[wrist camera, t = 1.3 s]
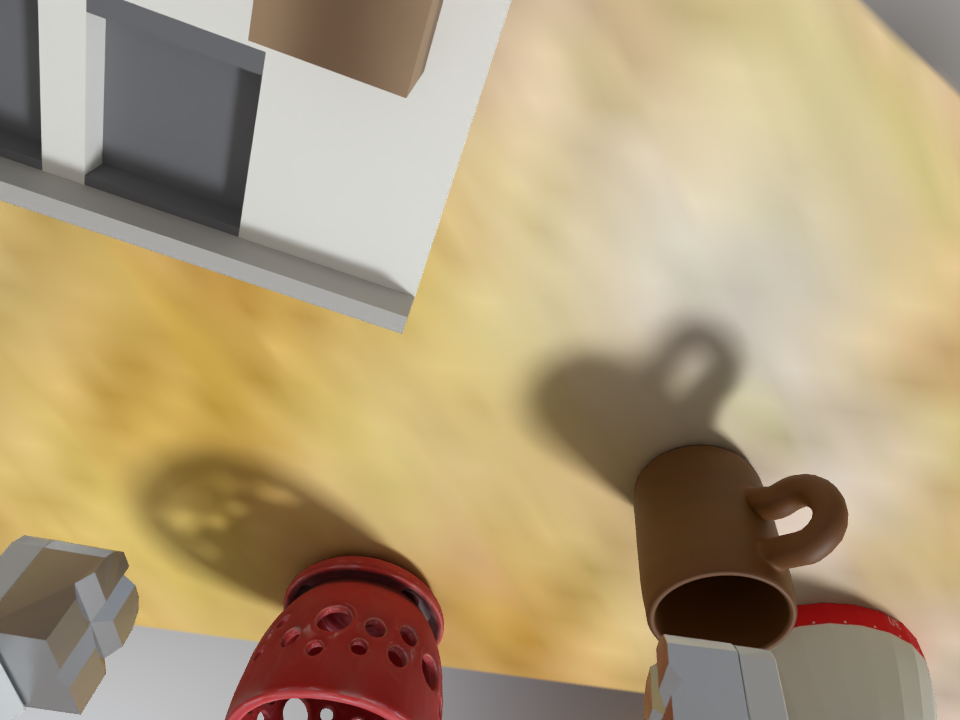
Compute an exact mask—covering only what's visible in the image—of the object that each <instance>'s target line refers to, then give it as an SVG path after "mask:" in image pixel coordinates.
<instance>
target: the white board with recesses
mask: <svg viewBox="0 0 960 720" xmlns="http://www.w3.org/2000/svg"><path fill="white" fill-rule="evenodd" d="M510 4H511V0H443V4H442V8H441V11H440V15H439V19H438V22H437V26H436V30H435V33H434V37H433V40H432V44H431V48H430V51H429V55H428V59H427V62H426V66H425V70H424V72H423V74H422V75H421V77H420V78H419V80H418V81H417V83H416V84H415V86H414V87H413V89H412V90H411V92H410V93H409V95H408V96H407V98H404V97H401V96H398V95H396V94H393V93H390V92H387V91H385V90H382V89H379V88H376V87H374V86H371V85H368V84H366V83H363V82H360V81H357V80H355V79H352V78H349V77H346V76H344V75H341V74H338V73H336V72H333V71H330V70H327V69H325V68H322V67H319V66H316V65H314V64H311V63H308V62H305V61H303V60H300V59H297V58H295V57H292V56H289V55H286V54H284V53H281V52H278V51H275V50H273V49H270V48H267V47H265V46H262V45H259V44H256V43H254V42H251V41H248V37H249V29H250V22H251V14H252V7H253V0H0V200H1V201H4V202H7V203H10V204H13V205H16V206H19V207H22V208H25V209H28V210H31V211H34V212H37V213H40V214H43V215H46V216H49V217H52V218H55V219H58V220H61V221H64V222H67V223H70V224H73V225H76V226H79V227H82V228H85V229H88V230H91V231H94V232H97V233H100V234H103V235H106V236H109V237H112V238H115V239H118V240H121V241H124V242H127V243H130V244H133V245H136V246H139V247H142V248H145V249H148V250H151V251H154V252H157V253H160V254H163V255H166V256H169V257H172V258H175V259H178V260H181V261H184V262H187V263H190V264H193V265H196V266H199V267H202V268H205V269H208V270H211V271H215V272H218V273H221V274H224V275H227V276H230V277H233V278H236V279H239V280H242V281H245V282H248V283H251V284H254V285H257V286H260V287H263V288H266V289H269V290H272V291H275V292H278V293H281V294H284V295H287V296H290V297H293V298H296V299H299V300H302V301H305V302H308V303H311V304H314V305H317V306H320V307H323V308H326V309H329V310H332V311H335V312H338V313H341V314H344V315H347V316H350V317H353V318H356V319H359V320H362V321H365V322H368V323H371V324H374V325H377V326H380V327H383V328H386V329H389V330H392V331H395V332H398V333H401V334H402V333H403V330H404V327H405V324H406V321H407V318H408V315H409V313H410V310H411V307H412V304H413V301H414V298H415V295H416V292H417V289H418V286H419V283H420V280H421V277H422V274H423V271H424V268H425V265H426V262H427V259H428V256H429V253H430V249H431V246H432V243H433V240H434V237H435V234H436V231H437V228H438V225H439V222H440V219H441V216H442V213H443V209H444V206H445V203H446V200H447V197H448V194H449V191H450V188H451V185H452V182H453V179H454V176H455V173H456V170H457V166H458V163H459V160H460V157H461V154H462V151H463V148H464V145H465V142H466V139H467V136H468V133H469V130H470V126H471V123H472V120H473V117H474V114H475V111H476V108H477V105H478V102H479V99H480V96H481V93H482V90H483V87H484V83H485V80H486V77H487V74H488V71H489V68H490V65H491V62H492V59H493V56H494V53H495V50H496V47H497V43H498V40H499V37H500V34H501V31H502V28H503V25H504V22H505V19H506V16H507V13H508V10H509V7H510Z"/></svg>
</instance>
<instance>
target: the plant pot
mask: <svg viewBox="0 0 960 720" xmlns="http://www.w3.org/2000/svg"><path fill="white" fill-rule="evenodd" d="M443 631H444V619H443V613H442V610H441V607H440V605H439V603H438V601H437V599H436V598H435V596H434V595H433V593H432V592H431V590H430V589H429V588H428V587H427V586H426V585H425V584H424V583H423V582H422V581H421V580H420V579H418V578H417V577H416V576H414V575H413V574H412V573H410V572H408V571H407V570H405V569H403V568H401V567H399V566H397V565H394V564H392V563H389V562H386V561H383V560H380V559H376V558H371V557H363V556H342V557H335V558H330V559H327V560H323V561H320V562H318V563H316V564H313V565H311V566H310V567H308V568H306V569H305V570H303V571H302V572H301V573H299V574H298V575H297V576H296V577H295V579H294V580H293V581H292V582H291V584H290V585H289V587H288V589H287V591H286V594H285V597H284V611H283V612H282V613H281V614H280V615H279V616H278V617H277V618H276V620H275V621H274V622H273V623H272V625H271V626H270V627H269V628H268V630H267V631H266V633H265V634H264V636H263V637H262V639H261V640H260V642H259V644H258V646H257V647H256V649H255V651H254V652H253V654H252V656H251V658H250V661H249V663H248V665H247V667H246V669H245V672H244V674H243V676H242V678H241V680H240V682H239V684H238V686H237V689H236V691H235V693H234V696H233V698H232V701H231V704H230V707H229V709H228V712H227V715H226V718H225V720H257V716H258V714H259V713H260V712H262V714H263V716H264V720H283V708H284V706H285V704H286V702H287V701H288V700H289V699H290V698H298V699H300V700H301V701H302V702H303V703H304V704H305V706H306V708H307V712H308V720H321V718H320V712H321V710H322V709H324V708H328V709H330V710H332V712H333V719H332V720H357V719H360V720H442V707H443V695H442V669H441V662H440V656H439V651H438V647H437V646H438V644H439V643H440V641H441V639H442V636H443ZM268 702H269V703H268Z"/></svg>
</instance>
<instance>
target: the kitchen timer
mask: <svg viewBox="0 0 960 720" xmlns="http://www.w3.org/2000/svg"><path fill="white" fill-rule="evenodd" d="M769 651H771V653H772V654H773V656H774V657H775V659H776V663H777V668H778V672H779V677H780V682H781V686H782V691H783V695H784V700H785V704H786V709H787V714H788V718H789V720H937V708H936V700H935V694H934V689H933V685H932V681H931V678H930V674H929V670H928V667H927V663H926V660H925V658H924V655H923V653H922V651H921V649H920V646H919V644H918V642H917V639H916V638H915V637H914V636H913V634H912V633H911V632H910V631H909V630H908V629H907V628H906V627H905V626H904V624H903V623H901V622H899V621H897V620H895V619H893V618H892V617H890V616H888V615H886V614H884V613H882V612H880V611H876V610H872V609H868V608H864V607H861V606H857V605H850V604H835V603H816V604H807V605H797V618H796V622H795V625H794V627H793V629H792V631H791V632H790V634H789V635H788V636H787V637H786V638H785V639H784V640H783V641H782V642H781V643H780V644H778V645H777V646H775V647H774V648H772V649H770V650H769Z"/></svg>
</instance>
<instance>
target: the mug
mask: <svg viewBox="0 0 960 720" xmlns="http://www.w3.org/2000/svg"><path fill="white" fill-rule="evenodd" d="M806 506H807V507H810V508H811V509H812V512H813V515H812V519H811V520H810V522H809V523H808V525H806V526H805V527H804V528H803V529H802V530H800V531H797V532H794V533H790V534H786V535H781V536H779V535H778V532H777V528H776V525H775V522H774V520H777V519H781V518H784V517H786V516H789V515H790V514H792V513H794V512H795V511H797V510H799V509H801V508H803V507H806ZM634 513H635V524H636V538H637V550H638V560H639V571H640V581H641V590H642V596H643V601H644V606H645V611H646V617H647V622H648V625H649V628H650V630H651V631H652V633H653V635H654V636H655V637H656V638H657V639H658V641H659V639H660V637H661V636H662V635H663V634H666V635H673V636H680V637H688V638H695V639H702V640H709V641H717V642H724V643H731V644H732V645H736V646H743V647H751V648H758V649H766V650H770V649H772V648H774V647H775V646H777V645H778V644H780V643H781V642H782V641H783V640H784V639H785V638H786V637H787V636H788V635H789V634H790V632H791V631H792V629H793V627H794V625H795V622H796V618H797V604H796V600H795V596H794V590H793V584H792V579H791V575H790V571H789V568H794V567H799V566H804V565H810V564H814V563H816V562H818V561H821V560H822V559H823V558H824V557H826V556H827V555H828V554H830V553H831V552H832V551H833V550H834V549H835V548H836V546H837V545H838V544H839V543H840V542H841V541H842V539H843V536H844V534H845V531H846V529H847V525H848V510H847V506H846V503H845V499H844V497H843V496H842V494H841V493H840V492H839V490H838V489H837V488H836V487H835V486H834V485H833V484H832V483H831V482H829V481H828V480H826V479H823V478H821V477H818V476H816V475H810V474H801V475H793V476H790V477H786V478H784V479H782V480H780V481H778V482H776V483H775V484H773V485H771V486H769V487H763V485H762V482H761V480H760V478H759V476H758V474H757V473H756V471H755V470H754V468H753V467H752V466H751V465H750V464H749V463H748V462H747V461H746V460H745V459H744V458H742V457H740V456H739V455H737V454H735V453H733V452H731V451H729V450H726V449H723V448H719V447H714V446H705V445H695V446H687V447H682V448H678V449H674V450H671V451H669V452H667V453H664V454H663V455H661V456H659V457H657V458H656V459H655V460H653V461H652V462H651V463H650V464H649V465H648V466H647V467H646V468H645V469H644V470H643V472H642V473H641V474H640V476H639V478H638V480H637V482H636V486H635V491H634Z"/></svg>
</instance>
